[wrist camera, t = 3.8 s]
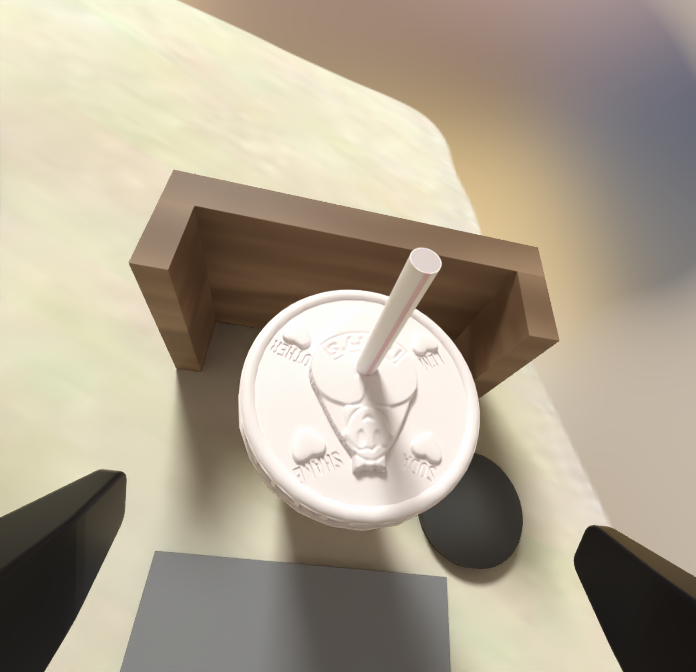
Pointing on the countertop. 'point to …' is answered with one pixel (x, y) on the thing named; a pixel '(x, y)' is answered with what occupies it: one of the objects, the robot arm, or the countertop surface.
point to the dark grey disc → (476, 518)
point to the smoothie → (359, 404)
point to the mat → (286, 618)
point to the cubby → (329, 271)
